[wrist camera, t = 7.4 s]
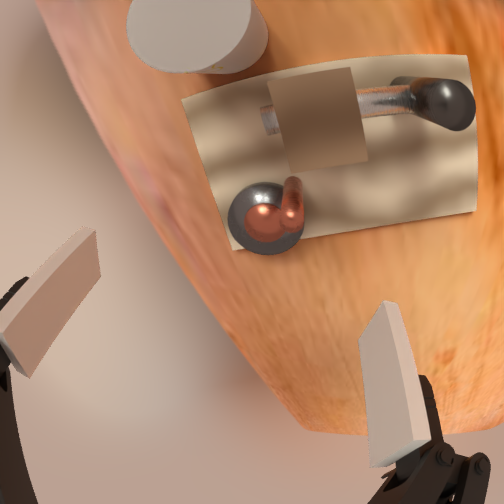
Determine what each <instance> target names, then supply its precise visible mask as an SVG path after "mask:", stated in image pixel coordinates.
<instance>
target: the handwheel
mask: <svg viewBox="0 0 504 504" xmlns="http://www.w3.org/2000/svg"><path fill="white" fill-rule="evenodd" d="M227 220H228V227H229V230H230V232H231V234H232V236H233V238H234V239H235V240H236V241H237V242H238V243H239V244H240V245H241V246H242V247H244V248H245V249H247V250H249V251H251V252H253V253H257V254H261V255H275V254H279V253H282V252H285V251H287V250H288V249H290V248H291V247H293V246H294V245H295V244H296V243H297V242H298V240H299V239H300V237H301V235H302V233H303V230H304V223H305V220H304V206H303V187H302V181H301V180H300V179H299V178H298V177H296V176H290V177H288V178H286V180H285V181H284V186H282V185H280V184H277V183H272V182H258V183H254V184H251V185H249V186H247V187H245V188H244V189H242V190H241V191H240V192H239V193H238V194H237V195H236V196H235V198H234V200H233V201H232V203H231V205H230V208H229V211H228V218H227Z"/></svg>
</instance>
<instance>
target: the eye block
mask: <svg viewBox="0 0 504 504" xmlns="http://www.w3.org/2000/svg"><path fill="white" fill-rule="evenodd" d="M400 76H413V77H430V78H443V79H453V80H458V81H460V82H462V83H463V84H465V85H466V86H467V87H468V88H469V90H470V91H471V93H472V95H473V88H472V82H471V75H470V70H469V64H468V59H467V55H447V54H405V55H385V56H372V57H361V58H352V59H344V60H336V61H329V62H323V63H317V64H311V65H305V66H300V67H295V68H290V69H285V70H280V71H276V72H271V73H267V74H263V75H259V76H255V77H251V78H247V79H243V80H240V81H236V82H233V83H229V84H226V85H222V86H219V87H216V88H213V89H210V90H207V91H203V92H200V93H198V94H195V95H192V96H189V97H186V98H183V99H181V101H182V104H183V107H184V110H185V113H186V116H187V119H188V122H189V125H190V128H191V131H192V134H193V137H194V140H195V143H196V146H197V149H198V152H199V155H200V158H201V161H202V164H203V167H204V170H205V173H206V176H207V179H208V181H209V184H210V187H211V190H212V193H213V196H214V199H215V202H216V205H217V207H218V210H219V213H220V216H221V219H222V222H223V225H224V227H225V230H226V233H227V236H228V239H229V242H230V244H231V247H232V250H239V249H245V248H244V247H242V246H241V245H240V244H239V243H238V242H237V241H236V240H235V239H234V238H233V236H232V234H231V232H230V230H229V227H228V220H227V218H228V211H229V208H230V205H231V203H232V201H233V200H234V198H235V196H236V195H237V194H238V193H239V192H240V191H241V190H242V189H244V188H245V187H247V186H249V185H251V184H254V183H258V182H272V183H277V184H280V185H282V186H284V181H285V180H286V178H288V177H290V176H296V177H298V178H299V179H300V180H301V181H302V187H303V206H304V220H305V223H304V230H303V233H302V235H301V237H300V239H305V238H311V237H317V236H323V235H329V234H335V233H342V232H348V231H354V230H360V229H366V228H372V227H378V226H384V225H391V224H397V223H403V222H409V221H415V220H422V219H428V218H434V217H440V216H447V215H453V214H459V213H465V212H472V211H476V209H477V190H478V144H477V126H476V114H475V117H474V120H473V122H472V123H471V125H470V126H469V127H468V128H466V129H465V130H462V131H451V130H449V129H446V128H444V127H442V126H440V125H437V124H435V123H432V122H430V121H428V120H425V119H423V118H420V117H417V116H415V115H412V114H410V113H409V114H398V115H389V116H380V117H371V118H364V119H361V113H360V108H359V103H358V99H357V94H356V90H357V89H365V88H375V87H385V86H389V85H390V83H391V82H392V81H393V80H394V79H395V78H397V77H400ZM473 97H474V96H473ZM272 104H273V106H274V109H275V113H276V117H277V120H278V124H279V128H280V132H281V133H278V134H273V135H269V136H268V135H267V133H266V131H265V128H264V125H263V121H262V117H261V112H260V107H264V106H268V105H272Z"/></svg>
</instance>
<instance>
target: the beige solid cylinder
mask: <svg viewBox="0 0 504 504" xmlns="http://www.w3.org/2000/svg"><path fill="white" fill-rule="evenodd" d="M126 31H127V37H128V41H129V43H130V46H131V48H132V50H133V51H134V53H135V54H136V55H137V56H138V58H139V59H140V60H142V61H143V62H144V63H145V64H147V65H149V66H150V67H152V68H154V69H157V70H160V71H163V72H169V73H207V74H233V73H237V72H240V71H243V70H245V69H247V68H249V67H250V66H252V65H253V64H254V63H256V62H257V61H258V60H259V58H260V57H261V56H262V54H263V53H264V51H265V49H266V46H267V42H268V29H267V25H266V23H265V21H264V19H263V17H262V15H261V13H260V11H259V9H258V8H257V6H256V4H255V2H254V0H133V1H132V3H131V5H130V8H129V11H128V15H127V21H126Z"/></svg>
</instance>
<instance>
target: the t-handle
mask: <svg viewBox="0 0 504 504" xmlns="http://www.w3.org/2000/svg"><path fill="white" fill-rule="evenodd" d="M356 94H357V99H358V103H359V108H360V113H361V119H364V118H371V117H380V116H389V115H398V114H409V113H410V114H412V115H415V116H417V117H420V118H423V119H425V120H428V121H430V122H432V123H435V124H437V125H440V126H442V127H444V128H446V129H449V130H451V131H462V130H465V129H466V128H468V127H469V126H470V125H471V123H472V122H473V120H474V117H475V113H476V105H475V100H474V97H473V95H472V93H471V91H470V90H469V88H468V87H467V86H466V85H465V84H463V83H462V82H460V81H458V80H453V79H443V78H430V77H413V76H400V77H397V78H395V79H394V80H393V81H392V82H391V83H390V85H389V86H385V87H375V88H365V89H357V90H356ZM260 112H261V117H262V121H263V125H264V128H265V131H266V133H267V135H268V136H269V135H273V134H278V133H281V132H280V128H279V124H278V120H277V117H276V113H275V109H274V106H273V104H272V105H268V106H264V107H260Z"/></svg>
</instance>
